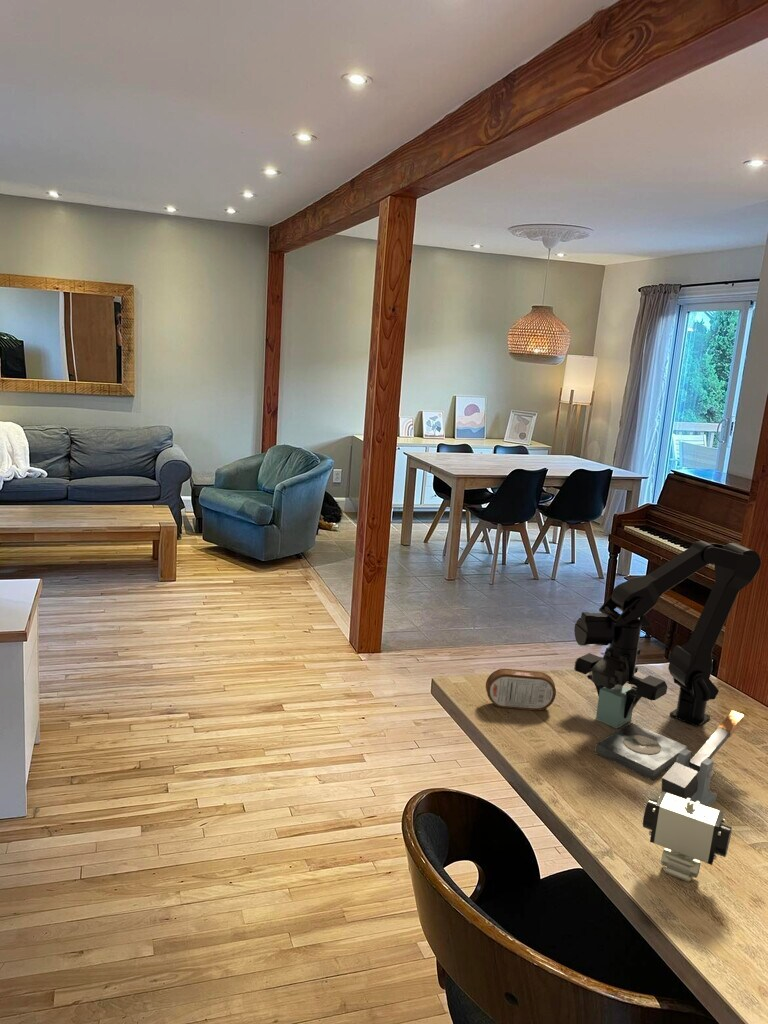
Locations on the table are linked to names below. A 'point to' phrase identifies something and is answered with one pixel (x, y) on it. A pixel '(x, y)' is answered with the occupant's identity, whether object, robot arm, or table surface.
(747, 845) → the table surface
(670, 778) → the lever
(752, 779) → the table surface
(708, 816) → the pneumatic valve
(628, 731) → the press bed
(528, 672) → the tin
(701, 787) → the lever stand
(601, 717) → the block
